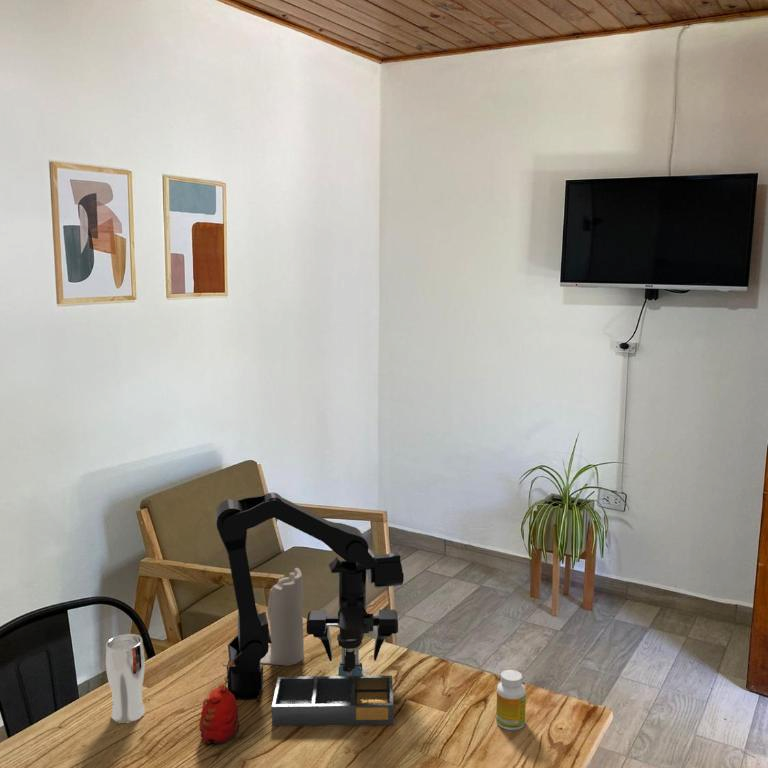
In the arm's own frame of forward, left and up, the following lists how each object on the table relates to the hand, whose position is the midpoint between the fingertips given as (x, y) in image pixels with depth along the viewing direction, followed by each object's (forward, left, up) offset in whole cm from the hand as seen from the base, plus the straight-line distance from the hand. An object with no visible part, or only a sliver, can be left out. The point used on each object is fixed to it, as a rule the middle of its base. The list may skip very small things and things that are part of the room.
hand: (352, 660), depth 164 cm
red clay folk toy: (-24, -20, -4) cm, 31 cm away
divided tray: (-3, -12, -4) cm, 13 cm away
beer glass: (-43, -13, -4) cm, 45 cm away
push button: (0, 0, -4) cm, 4 cm away
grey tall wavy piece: (-18, +9, -4) cm, 20 cm away
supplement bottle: (+30, -17, -4) cm, 35 cm away
